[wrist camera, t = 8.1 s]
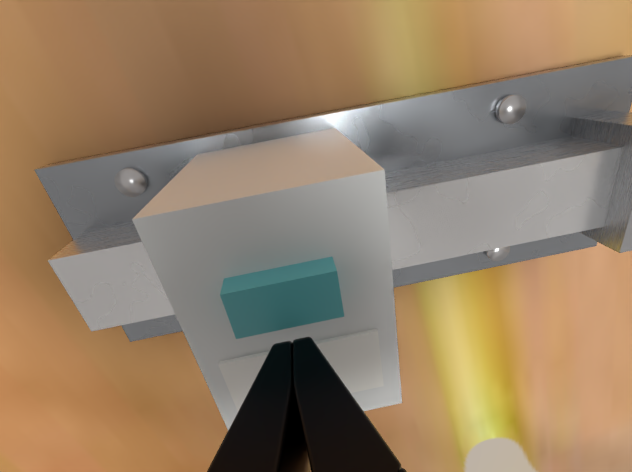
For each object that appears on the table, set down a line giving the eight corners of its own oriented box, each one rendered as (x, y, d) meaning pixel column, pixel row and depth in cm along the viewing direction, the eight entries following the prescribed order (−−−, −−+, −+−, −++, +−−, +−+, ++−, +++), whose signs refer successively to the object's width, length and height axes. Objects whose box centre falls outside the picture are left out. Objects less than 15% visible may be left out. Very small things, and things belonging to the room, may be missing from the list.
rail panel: (581, 238, 16) (663, 281, 13) (137, 329, 16) (98, 399, 12) (622, 56, 13) (749, 48, 9) (48, 164, 12) (-41, 198, 9)
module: (356, 286, 15) (409, 422, 9) (247, 308, 15) (229, 461, 9) (334, 127, 12) (394, 177, 6) (197, 154, 12) (118, 232, 6)
